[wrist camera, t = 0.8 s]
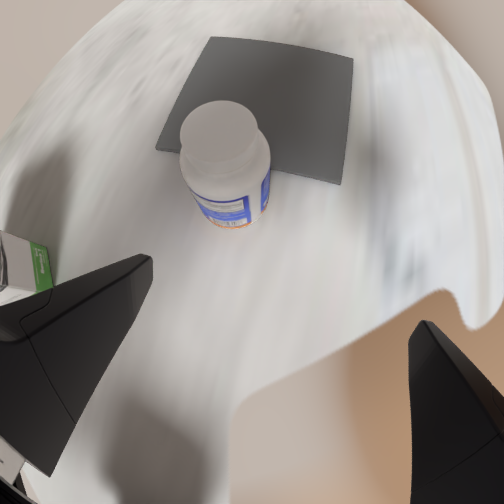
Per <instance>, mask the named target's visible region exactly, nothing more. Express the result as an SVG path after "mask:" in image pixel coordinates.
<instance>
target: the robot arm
mask: <svg viewBox="0 0 504 504" xmlns="http://www.w3.org/2000/svg"><path fill="white" fill-rule="evenodd" d="M152 281H153V260H152V257H151V256H148V255H144V254H138V255H135V256H132V257H129V258H127V259H124V260H121V261H119V262H116V263H113V264H111V265H108V266H105V267H103V268H100V269H98V270H95V271H92V272H90V273H87V274H85V275H82V276H79V277H77V278H74V279H72V280H69V281H67V282H64V283H62V284H59V285H57V286H54V287H53V288H49V289H47V290H44V291H42V292H39V293H36V294H34V295H31V296H29V297H26V298H23V299H20V300H17V301H14V302H11V303H8V304H5V305H2V306H0V504H37V503H36V502H34V501H33V500H31V499H30V498H29V497H27V494H26V491H25V488H24V485H23V482H22V478H21V475H20V470H21V468H22V466H23V465H24V463H25V461H26V462H27V463H29V464H30V465H32V466H33V467H34V468H36V469H37V470H39V471H40V472H42V473H43V474H45V475H46V476H48V477H51V475H52V473H53V471H54V469H55V467H56V465H57V462H58V460H59V458H60V456H61V454H62V452H63V450H64V448H65V446H66V444H67V442H68V440H69V438H70V436H71V434H72V432H73V430H74V428H75V426H76V424H77V422H78V420H79V418H80V416H81V414H82V412H83V410H84V409H85V407H86V405H87V403H88V401H89V399H90V397H91V395H92V394H93V392H94V390H95V388H96V386H97V385H98V383H99V381H100V379H101V377H102V376H103V374H104V372H105V370H106V368H107V367H108V365H109V363H110V361H111V360H112V358H113V356H114V355H115V353H116V351H117V349H118V348H119V346H120V344H121V343H122V341H123V339H124V338H125V336H126V334H127V333H128V331H129V329H130V328H131V326H132V324H133V322H134V321H135V319H136V316H137V314H138V312H139V310H140V308H141V306H142V304H143V301H144V299H145V297H146V295H147V293H148V291H149V289H150V287H151V284H152ZM408 352H409V353H408V354H409V391H410V392H409V393H410V407H411V428H412V481H411V498H410V504H504V397H503V396H502V395H501V394H500V392H499V391H498V390H497V389H496V388H495V387H494V386H493V385H492V384H491V382H490V381H489V380H488V379H487V378H486V377H485V376H484V375H483V374H482V372H481V371H480V370H479V369H478V368H477V367H476V366H475V365H474V364H473V363H472V362H471V361H470V360H469V359H468V358H467V357H466V355H465V354H464V353H463V352H461V350H460V349H459V348H458V347H457V346H456V345H455V344H454V343H453V342H452V341H451V340H450V339H449V338H448V337H447V336H446V335H445V334H444V333H443V332H442V331H441V330H440V329H439V328H438V327H437V326H436V325H435V324H434V323H433V322H431V321H426V320H421V321H420V322H419V324H418V325H417V327H416V328H415V330H414V331H413V333H412V335H411V336H410V339H409V343H408Z"/></svg>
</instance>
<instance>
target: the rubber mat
mask: <svg viewBox="0 0 504 504" xmlns="http://www.w3.org/2000/svg"><path fill="white" fill-rule="evenodd" d="M352 75H353V59H352V58H349V57H345V56H341V55H337V54H333V53H329V52H324V51H320V50H315V49H310V48H305V47H300V46H294V45H288V44H282V43H275V42H268V41H260V40H251V39H241V38H229V37H210V39H209V41H208V42H207V44H206V46H205V48H204V49H203V51H202V53H201V55H200V56H199V58H198V60H197V62H196V64H195V66H194V67H193V69H192V71H191V73H190V75H189V77H188V79H187V81H186V83H185V84H184V86H183V88H182V90H181V92H180V94H179V96H178V98H177V100H176V102H175V105H174V107H173V109H172V111H171V113H170V115H169V117H168V119H167V122H166V124H165V126H164V128H163V130H162V133H161V135H160V137H159V139H158V142H157V144H156V146H155V147H156V149H157V150H162V151H170V152H177V153H180V151H181V148H182V144H181V141H180V130H181V126H182V124H183V122H184V120H185V119H186V117H187V116H188V115H189V114H190V113H191V112H192V111H193V110H194V109H196V108H197V107H199V106H201V105H203V104H206V103H209V102H213V101H221V100H223V101H232V102H236V103H239V104H241V105H243V106H244V107H246V108H247V109H248V110H250V112H251V113H252V114H253V115H254V117H255V119H256V122H257V126H258V129H259V130H260V131H261V132H262V134H263V135H264V137H265V138H266V140H267V142H268V145H269V149H270V169H273V170H278V171H283V172H287V173H292V174H296V175H301V176H305V177H309V178H313V179H318V180H322V181H326V182H330V183H334V184H338V185H340V184H341V180H342V173H343V165H344V157H345V149H346V141H347V132H348V122H349V112H350V101H351V88H352Z"/></svg>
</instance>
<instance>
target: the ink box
mask: <svg viewBox="0 0 504 504" xmlns="http://www.w3.org/2000/svg"><path fill="white" fill-rule="evenodd" d="M49 288H53V283H52V277H51V272H50V265H49V259H48V254H47V249H46V247H44V246H41V245H38V244H35V243H32V242H30V241H27V240H24V239H22V238H19V237H16V236H14V235H11V234H8V233H6V232H3V231H1V230H0V306H2V305H5V304H8V303H11V302H14V301H17V300H20V299H23V298H26V297H29V296H31V295H34V294H36V293H39V292H42V291H44V290H47V289H49Z"/></svg>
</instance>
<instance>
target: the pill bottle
mask: <svg viewBox="0 0 504 504" xmlns="http://www.w3.org/2000/svg"><path fill="white" fill-rule="evenodd" d="M180 141H181V144H182V148H181V151H180V158H179V163H180V169H181V172H182V175H183V178H184V180H185V182H186V183H187V185H188V187H189V189H190V191H191V192H192V194H193V196H194V198H195V199H196V201H197V203H198V205H199V206H200V208H201V210H202V212H203V213H204V215H205V216H206V217H207V218H208V219H209V220H210V221H211V222H212V223H213V224H215V225H217V226H219V227H221V228H225V229H240V228H243V227H246V226H248V225H250V224H252V223H254V222H255V221H256V220H258V219H259V218H260V216H261V215H262V214H263V213H264V211H265V209H266V207H267V203H268V199H269V182H270V149H269V145H268V142H267V140H266V138H265V137H264V135H263V134H262V132H261V131H260V130H259V129H258V126H257V122H256V119H255V117H254V115H253V114H252V113H251V112H250V110H248V109H247V108H246V107H244V106H243V105H241V104H239V103H236V102H232V101H223V100H221V101H213V102H209V103H206V104H203V105H201V106H199V107H197V108H196V109H194V110H193V111H192V112H191V113H190V114H189V115H188V116H187V117H186V119H185V120H184V122H183V124H182V126H181V130H180Z"/></svg>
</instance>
